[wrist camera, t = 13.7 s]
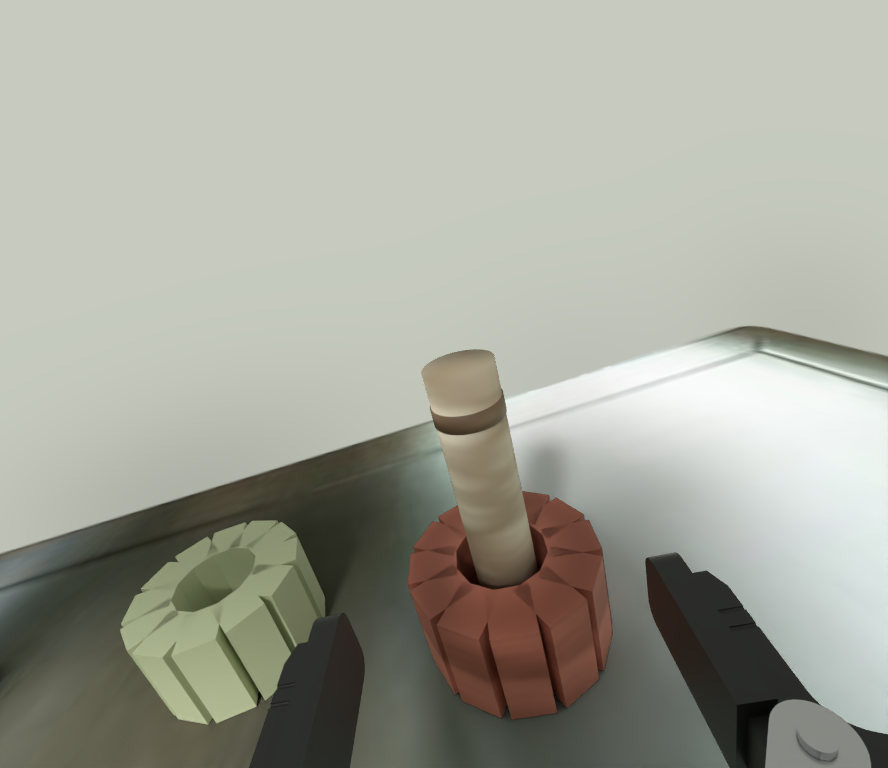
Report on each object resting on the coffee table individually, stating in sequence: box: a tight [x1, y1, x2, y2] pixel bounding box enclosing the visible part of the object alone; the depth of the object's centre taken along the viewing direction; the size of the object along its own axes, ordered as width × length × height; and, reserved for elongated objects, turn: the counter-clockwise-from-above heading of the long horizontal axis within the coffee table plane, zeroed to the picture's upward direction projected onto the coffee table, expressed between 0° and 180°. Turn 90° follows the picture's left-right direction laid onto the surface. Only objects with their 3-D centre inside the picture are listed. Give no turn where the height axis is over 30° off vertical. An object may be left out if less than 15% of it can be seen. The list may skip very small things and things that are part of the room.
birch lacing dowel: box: [421, 350, 538, 590], centre depth 21 cm, size 3×3×15 cm
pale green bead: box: [120, 521, 325, 724], centre depth 26 cm, size 9×9×5 cm
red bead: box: [408, 491, 613, 720], centre depth 23 cm, size 9×9×5 cm
